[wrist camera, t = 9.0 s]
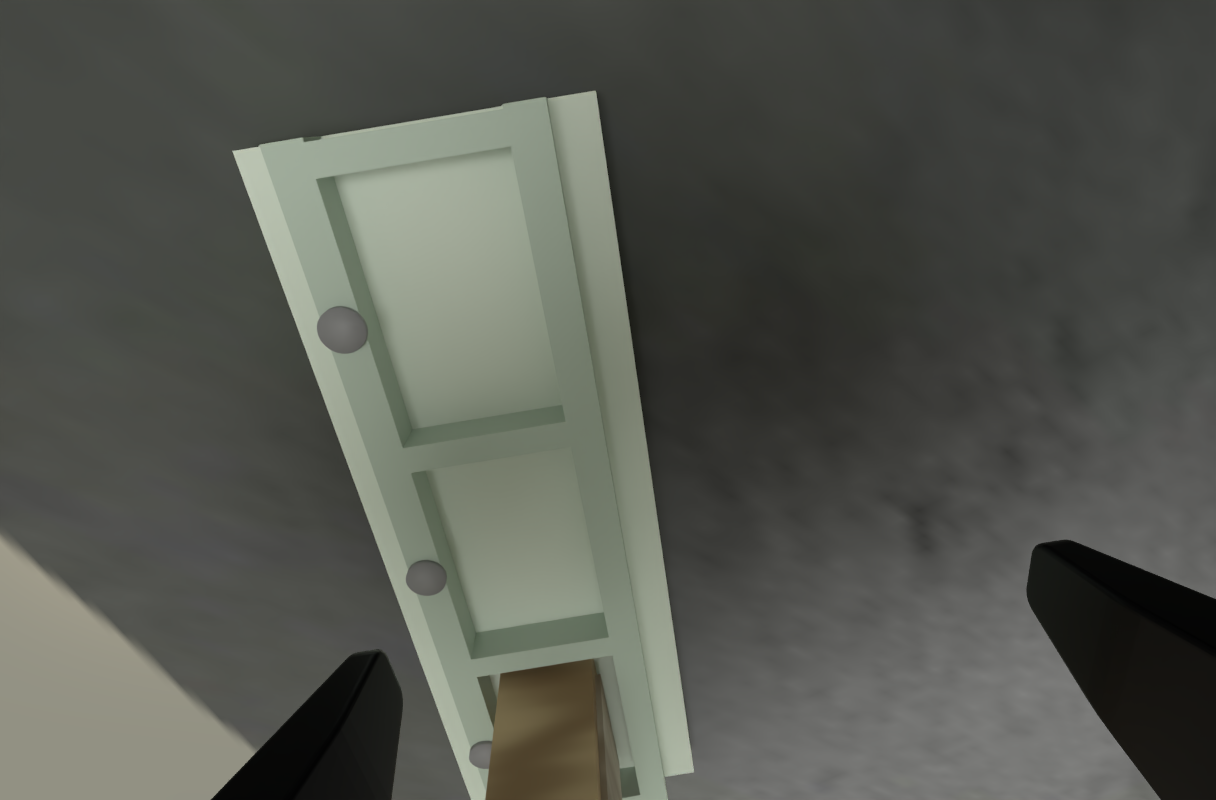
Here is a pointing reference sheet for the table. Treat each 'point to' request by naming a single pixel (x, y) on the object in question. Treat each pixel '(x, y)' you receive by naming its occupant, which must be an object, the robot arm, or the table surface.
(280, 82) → the table surface
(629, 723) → the rail board
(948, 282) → the table surface
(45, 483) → the table surface
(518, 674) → the tan rectangular box
